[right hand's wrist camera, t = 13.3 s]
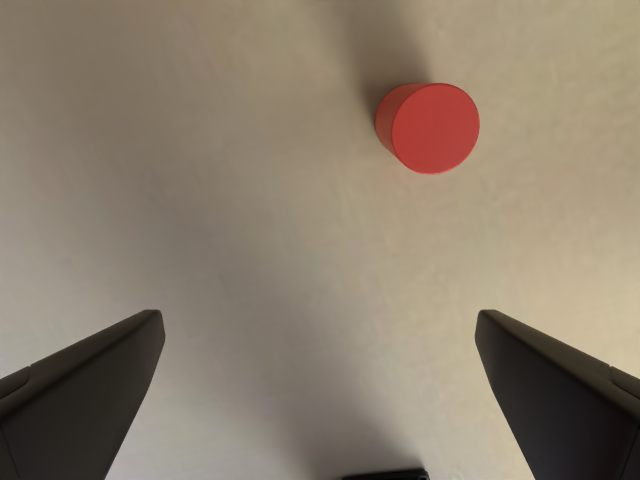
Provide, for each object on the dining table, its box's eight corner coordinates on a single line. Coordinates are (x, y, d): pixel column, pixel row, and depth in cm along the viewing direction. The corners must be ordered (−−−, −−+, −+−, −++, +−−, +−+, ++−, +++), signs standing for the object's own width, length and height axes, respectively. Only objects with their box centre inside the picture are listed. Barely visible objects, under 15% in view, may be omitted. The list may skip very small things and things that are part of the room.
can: (422, 67, 20) (453, 63, 15) (456, 129, 21) (495, 142, 16) (361, 111, 21) (374, 119, 16) (397, 168, 22) (419, 191, 17)
